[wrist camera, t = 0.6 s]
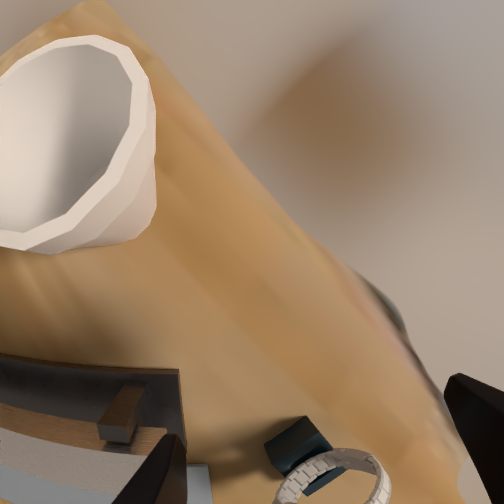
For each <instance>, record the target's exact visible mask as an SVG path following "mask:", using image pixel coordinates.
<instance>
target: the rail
mask: <svg viewBox="0 0 504 504" xmlns="http://www.w3.org/2000/svg"><path fill="white" fill-rule="evenodd" d="M96 424H97V423H94V422H87V421H80V420H73V419H67V418H62V417H56V416H51V415H46V414H42V413H37V412H33V411H29V410H24V409H21V408H17V407H13V406H9V405H6V404H2V403H0V464H2V465H5V466H7V467H10V468H12V469H15V470H18V471H21V472H24V473H27V474H30V475H33V476H36V477H39V478H42V479H46V480H49V481H53V482H56V483H60V484H64V485H68V486H72V487H77V488H81V489H86V490H91V491H96V492H102V493H108V494H115V495H118V494H119V493H120V492H121V491H122V489H123V488H124V487H125V485H126V484H127V483H128V481H129V480H130V479H131V478H132V476H133V475H134V474H135V472H136V471H137V470H138V468H139V467H140V466H141V464H142V463H143V462H144V460H145V459H146V458H147V456H148V455H149V454H150V452H151V451H152V450H153V448H154V447H155V446H156V444H157V443H158V442H159V440H160V439H161V438H162V436H163V435H164V434H167V430H166V428H151V427H135V429H134V431H133V434H132V436H131V438H130V441H129V443H123V442H114V441H105V440H100V437H99V433H98V429H97V425H96Z"/></svg>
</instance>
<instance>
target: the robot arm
mask: <svg viewBox="0 0 504 504" xmlns="http://www.w3.org/2000/svg"><path fill="white" fill-rule="evenodd" d="M444 399H445V402H446V404H447V407H448V409H449V411H450V414H451V416H452V419H453V421H454V424H455V426H456V429H457V431H458V433H459V435H460V437H461V439H462V441H463V443H464V445H465V447H466V449H467V451H468V453H469V455H470V457H471V459H472V461H473V463H474V465H475V467H476V469H477V471H478V473H479V475H480V478H481V480H482V482H483V484H484V487H485V489H486V491H487V493H488V496H489V498H490V500H491V503H492V504H504V392H503V391H501V390H498V389H496V388H494V387H492V386H489V385H487V384H485V383H482V382H480V381H478V380H475V379H473V378H471V377H469V376H467V375H464V374H462V373H457V374H455V375H452V376H450V378H449V380H448V382H447V385H446V388H445V390H444ZM187 496H188V488H187V464H186V449H185V447H184V445H183V443H182V441H181V439H180V437H179V435H178V434H176V433H167V434H164V435H163V436H162V438H161V439H160V440H159V442H158V443H157V444H156V446H155V447H154V448H153V450H152V451H151V452H150V454H149V455H148V456H147V458H146V459H145V460H144V462H143V463H142V464H141V466H140V467H139V468H138V470H137V471H136V472H135V474H134V475H133V476H132V478H131V479H130V480H129V481H128V483H127V484H126V485H125V487H124V488H123V489H122V491H121V492H120V493H119V494H118V496H117V497H116V498H115V499H114V501H113V502H112V503H111V504H187Z"/></svg>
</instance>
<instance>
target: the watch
mask: <svg viewBox="0 0 504 504" xmlns="http://www.w3.org/2000/svg"><path fill="white" fill-rule="evenodd" d="M264 447H265V449H266V452H267V454H268V457H269V459H270V461H271V464H272V465H273V466H274V467H275V468H276V469H277V470H278V471H279V472H281V473H282V474H283V475H284V476H285V477H286V478H285V479H284V480H283V482H282V483H281V485H280V487H279V488H278V490H277V492H276V496H275V499H274V501H273V502H272V504H297V503H296V502H297V500H296V499H298V498H299V496H300V495H301V493H304V494H305V495H306V496H309V495H311V494H312V493H314V492H315V491H317V490H319V489H320V488H322V487H323V486H325V485H326V484H328V483H329V482H331V481H332V480H334V479H335V478H336V477H338V476H339V475H341V474H342V473H344V472H345V471H346V470H348V469H353V470H360V471H364V472H368V473H371V474H373V475H377V477H378V478H377V480H376V484H375V489H373V491H372V493H371V495H370V496H369V499H370V500H367V501H366V502H365V503H364V504H388V502H389V499H390V496H391V481H390V479H389V476H388V475H387V473H386V472H385V471H384V469H383V468H382V465H381V464H380V462H379V461H378V460H377V459H376V458H375V457H374V456H373V455H372V454H370V453H367V452H364V451H360V450H356V449H348V448H333V447H332V446H331V445H330V444H329V443H328V441H327V440H326V439H325V438H324V437H323V435H322V434H321V433H320V432H319V431H318V429H317V428H316V427H315V426H314V424H313V423H312V422H311V421H310V420H309V418H308V417H307V416H305V417H303V418H302V419H301V420H299V421H298V422H296V423H295V424H294V425H292V426H291V427H289V428H288V429H286V430H285V431H283V432H282V433H280V434H279V435H277V436H276V437H274V438H273V439H271V440H270V441H268V442H266V443H265V444H264Z"/></svg>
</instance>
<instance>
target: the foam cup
mask: <svg viewBox="0 0 504 504" xmlns="http://www.w3.org/2000/svg"><path fill="white" fill-rule="evenodd" d="M155 129H156V108H155V104H154V100H153V96H152V92H151V88H150V84H149V79H148V77H147V76H146V74H145V72H144V71H143V69H142V67H141V66H140V64H139V63H138V61H137V59H136V58H135V56H134V54H133V53H132V51H131V50H130V48H129V47H127V46H124V45H122V44H119V43H117V42H114V41H112V40H109V39H106V38H104V37H101V36H98V35H89V36H80V37H72V38H64V39H58V40H55V41H53V42H51V43H49V44H47V45H45V46H43V47H41V48H39V49H37V50H35V51H34V52H32V53H30V54H28V55H26V56H24V57H23V58H21V59H19V60H18V61H17V62H16V63H15V64H14V65H13V66H12V67H10V68H9V69H8V70H7V71H6V72H5V73H4V74H3V75H2V76H1V77H0V246H2V247H7V248H12V249H18V250H23V251H29V252H35V253H41V254H47V255H56V254H58V253H61V252H63V251H66V250H68V249H74V248H84V247H95V246H105V245H116V244H120V243H123V242H126V241H129V240H131V239H134V238H136V237H137V236H138V235H139V234H140V233H141V232H142V231H143V230H144V229H145V228H146V227H147V226H148V225H149V224H150V222H151V219H152V217H153V214H154V212H155V209H156V183H155V170H154V155H155Z"/></svg>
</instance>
